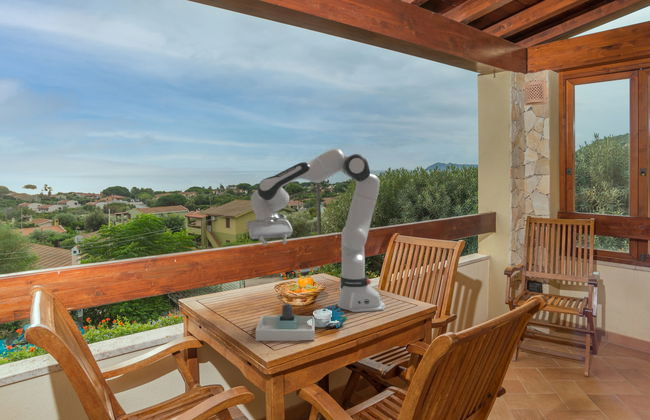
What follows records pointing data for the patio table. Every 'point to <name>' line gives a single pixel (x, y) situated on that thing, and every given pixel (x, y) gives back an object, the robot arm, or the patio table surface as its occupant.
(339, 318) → the gear
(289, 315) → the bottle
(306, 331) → the walled box
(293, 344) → the patio table surface
